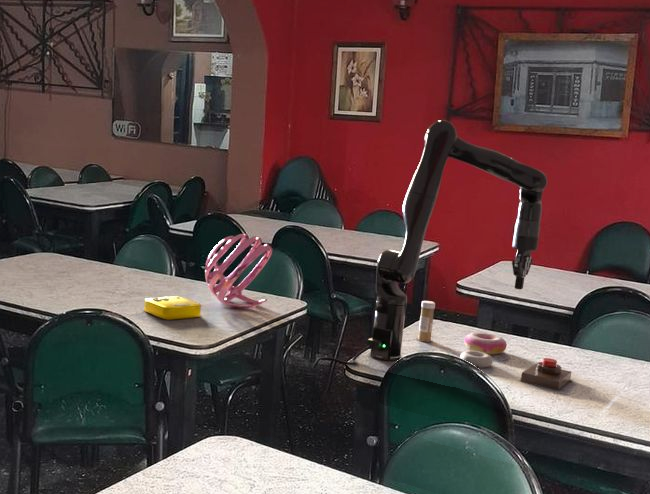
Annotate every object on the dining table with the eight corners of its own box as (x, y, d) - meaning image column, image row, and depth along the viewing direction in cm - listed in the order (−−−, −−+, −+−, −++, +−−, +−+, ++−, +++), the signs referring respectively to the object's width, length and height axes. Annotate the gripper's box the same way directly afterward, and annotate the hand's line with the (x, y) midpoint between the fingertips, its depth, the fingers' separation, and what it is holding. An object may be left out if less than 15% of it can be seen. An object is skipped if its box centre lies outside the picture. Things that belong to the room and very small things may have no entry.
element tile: (165, 320, 286) (166, 306, 285) (142, 310, 297) (143, 297, 296) (202, 316, 296) (203, 303, 295) (178, 307, 307) (179, 294, 306)
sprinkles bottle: (433, 341, 290) (438, 303, 288) (423, 342, 288) (428, 303, 286) (424, 338, 294) (429, 300, 292) (414, 338, 292) (419, 300, 289)
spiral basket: (305, 257, 320) (252, 210, 324) (269, 284, 297) (212, 233, 301) (270, 305, 335) (219, 260, 339) (232, 334, 312) (179, 285, 316)
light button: (553, 369, 253) (554, 362, 252) (540, 366, 255) (541, 359, 254) (557, 366, 256) (558, 360, 256) (544, 363, 258) (545, 357, 258)
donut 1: (456, 348, 284) (457, 333, 283) (476, 343, 294) (478, 329, 293) (491, 358, 275) (493, 343, 274) (512, 352, 285) (514, 338, 284)
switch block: (557, 390, 246) (560, 375, 245) (520, 381, 252) (522, 366, 251) (570, 380, 258) (572, 365, 257) (534, 371, 264) (536, 357, 263)
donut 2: (490, 371, 260) (493, 363, 269) (491, 360, 259) (494, 352, 269) (457, 365, 263) (461, 357, 272) (458, 355, 262) (463, 347, 272)
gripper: (521, 231, 271) (514, 284, 274) (507, 233, 260) (499, 288, 263) (545, 234, 267) (537, 288, 270) (531, 237, 256) (523, 293, 259)
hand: (518, 288), depth 267 cm, fingers closed
